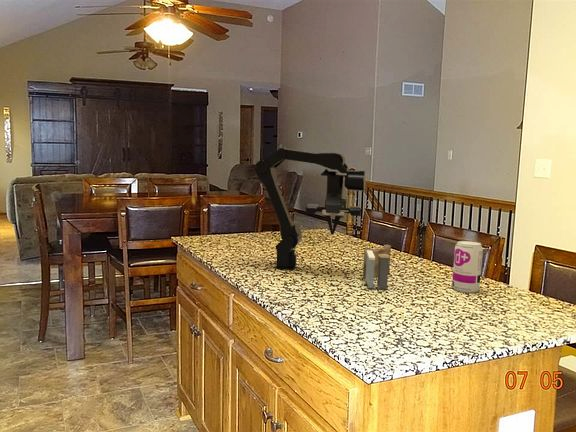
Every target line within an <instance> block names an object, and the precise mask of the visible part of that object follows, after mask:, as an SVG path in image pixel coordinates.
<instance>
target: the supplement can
mask: <svg viewBox="0 0 576 432" xmlns="http://www.w3.org/2000/svg"><path fill="white" fill-rule="evenodd" d="M483 253H484V248H483V246H482V243H481V242H478V241H470V240H458V241H457V243H456V244H455V246H454V255H453V258H454V259H453V268H452V270H453V271H452V282H451V286H452V288H453V290H454V291H456V292H461V293H469V294H470V293H471V294H472V293H473V294H475V293H477V292H478V291H479V290H480V288H481V287H480V285H481V276H482V275H481V274H482V267H483V266H482V264H483Z"/></svg>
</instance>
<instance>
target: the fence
mask: <svg viewBox="0 0 576 432" xmlns="http://www.w3.org/2000/svg"><path fill="white" fill-rule="evenodd" d="M391 249H392V245H390V244H383V248H379V249H378V250H375V249H374V248H367V247H365V248H364V249H363V267H362V268H363V269H362V279H363V280H365V281H366V279H365V278H366V260H367V250H372V251H373V254H374V256H375V262H374V278H378V264H379V256H378V254H388V255H389V256H390V258H389V265H388V275H389V274H390V265H391V264H390V263H391Z"/></svg>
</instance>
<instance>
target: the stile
mask: <svg viewBox="0 0 576 432" xmlns="http://www.w3.org/2000/svg"><path fill="white" fill-rule="evenodd" d="M378 256H379V264H378V277H377V283H376V288H377V289H378V290H388V279H389V278H388V277H389V274H388V265H389V258H390V259H391V255H390V256H389V255H388V254H378Z"/></svg>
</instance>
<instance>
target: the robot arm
mask: <svg viewBox="0 0 576 432" xmlns="http://www.w3.org/2000/svg"><path fill="white" fill-rule="evenodd" d="M286 160H288V161H294V162H300V163H301V162H302V163H308V164H309V163H310V164H315V165H319V166H320V167H324V168H326V169H325V170H324V171H322V173H321V174H320V176H321V177H324V176H325V177H326V181H325V182H326V183H325V185H326V187H325V188H326V189H325V201H324V206H319V204H318V203H308V204H307V205H306V206H305V214H311V215H313V214H314V215H315V214H316V213H317V212H319V213H320V212H322V214H321V215H322V216H321V217H325V220H326V222H327V224H328V228H329V232H330V235H332V236H334V234H335V232H336V229H337V226H338V224H339V222H340V220H341V218H344V217H345V214H349V215H350V216H352V217H353V216H354V217H361V216H362V207H361V206H360V205H358V206H357V205H349V207H347V198H343V196H344V195H343V193H344V188H347V191H356V192H365V191H366V186H367V185H366V181H367V180H366V170H358V171H357V170H351V169H350V168H349V167H348V165H347V163H346V158H345V155H343V154H342V153H340V152H313V151H304V150H297V149H291V148H287V147H280V148H278V149H277V150H276V151H275V152H274V153H272V154H270V155H269V156H268V157H266V158H265V159H263V160H259V161H257V162H256V163H255V165H254V168H253V169H254V170H253V171H254V173H255V175H256V176H257V179H259V181H260V182H261V183H262V185H263V186H264V188H265V190H266V192H267V195H268V197H269V200H270V202H271V205H272V208H273V210H274V213H275V215H276V217H277V220H278V223H279V227H280V228H279V229H280V230H279V231H280V238H281V241H279V242H278V243H277V244H276V245H275V250H276V265H275V266H274V267H275V269H280V270H281V269H282V270H294V269H295V268H296V267H297V258H298V257H297V256H298V254H297V253H296V247H297V246H298V245H299V244H300V243H301V242H302V239H303V233H304V232H303V231H302V229H301V227H300V223H299V222H297V223H295V222H294V221H293V219H292V218H291V215H290V213H289V210H288V207H287V205H286V202H285V200H284V197H283V195H282V192H281V190H280V187H279V185H278V181H277V180H278V177H277V175H278V174H277V171H276V169H277V168H278V167H280V166H281V164H282V163H284V162H285V161H286ZM339 173H340V174H339ZM332 214H334V215H335V216H334V221H333V217H332Z"/></svg>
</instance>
